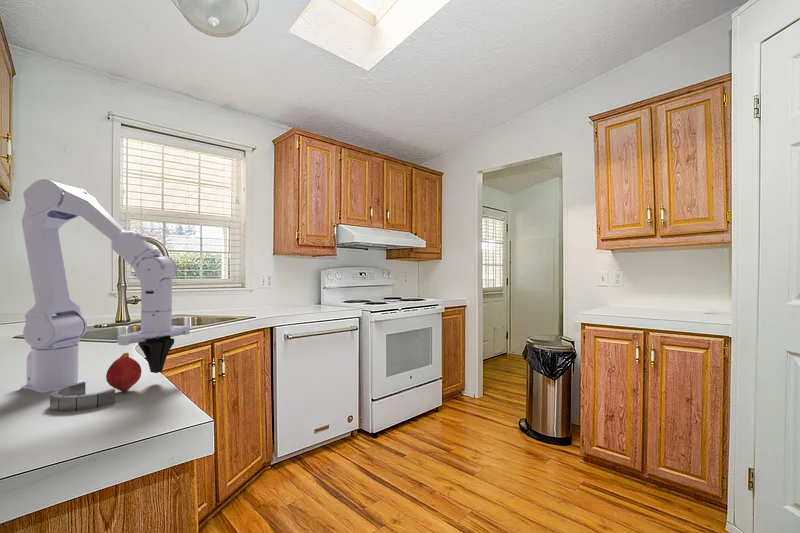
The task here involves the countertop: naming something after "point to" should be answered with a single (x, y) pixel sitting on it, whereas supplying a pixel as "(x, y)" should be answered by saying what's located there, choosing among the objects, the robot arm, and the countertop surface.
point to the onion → (123, 373)
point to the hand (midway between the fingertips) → (156, 371)
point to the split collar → (79, 398)
